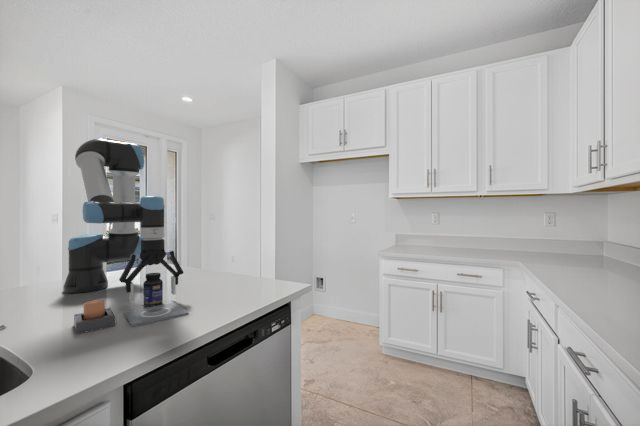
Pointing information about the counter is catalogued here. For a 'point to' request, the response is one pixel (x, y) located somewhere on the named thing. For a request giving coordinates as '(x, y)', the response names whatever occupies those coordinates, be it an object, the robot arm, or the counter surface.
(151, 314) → the board
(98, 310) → the button
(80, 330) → the button housing
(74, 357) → the counter surface
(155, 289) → the pill bottle
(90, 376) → the counter surface
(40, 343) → the counter surface
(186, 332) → the counter surface
